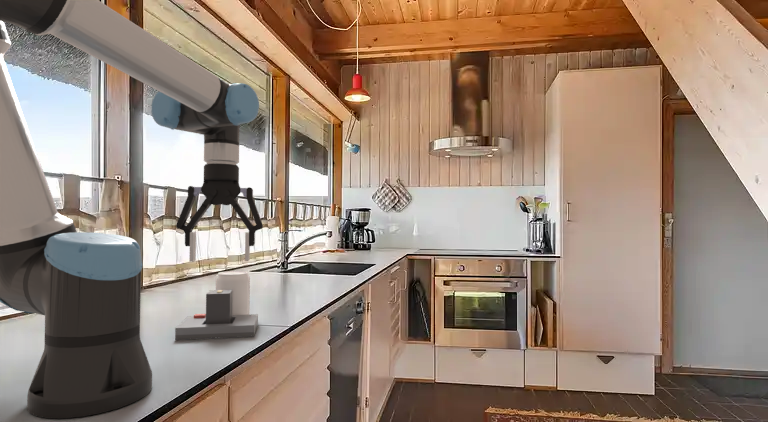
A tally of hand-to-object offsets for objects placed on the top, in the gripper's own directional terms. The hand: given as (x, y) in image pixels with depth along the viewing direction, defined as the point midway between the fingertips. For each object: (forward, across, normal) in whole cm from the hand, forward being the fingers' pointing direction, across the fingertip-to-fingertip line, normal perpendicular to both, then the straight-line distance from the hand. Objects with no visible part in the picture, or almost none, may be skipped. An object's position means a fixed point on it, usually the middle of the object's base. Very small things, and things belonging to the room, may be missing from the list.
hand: (220, 260), depth 102 cm
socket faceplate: (+16, 0, 0) cm, 16 cm away
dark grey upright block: (+15, 0, 0) cm, 15 cm away
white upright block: (+16, -2, -11) cm, 20 cm away
